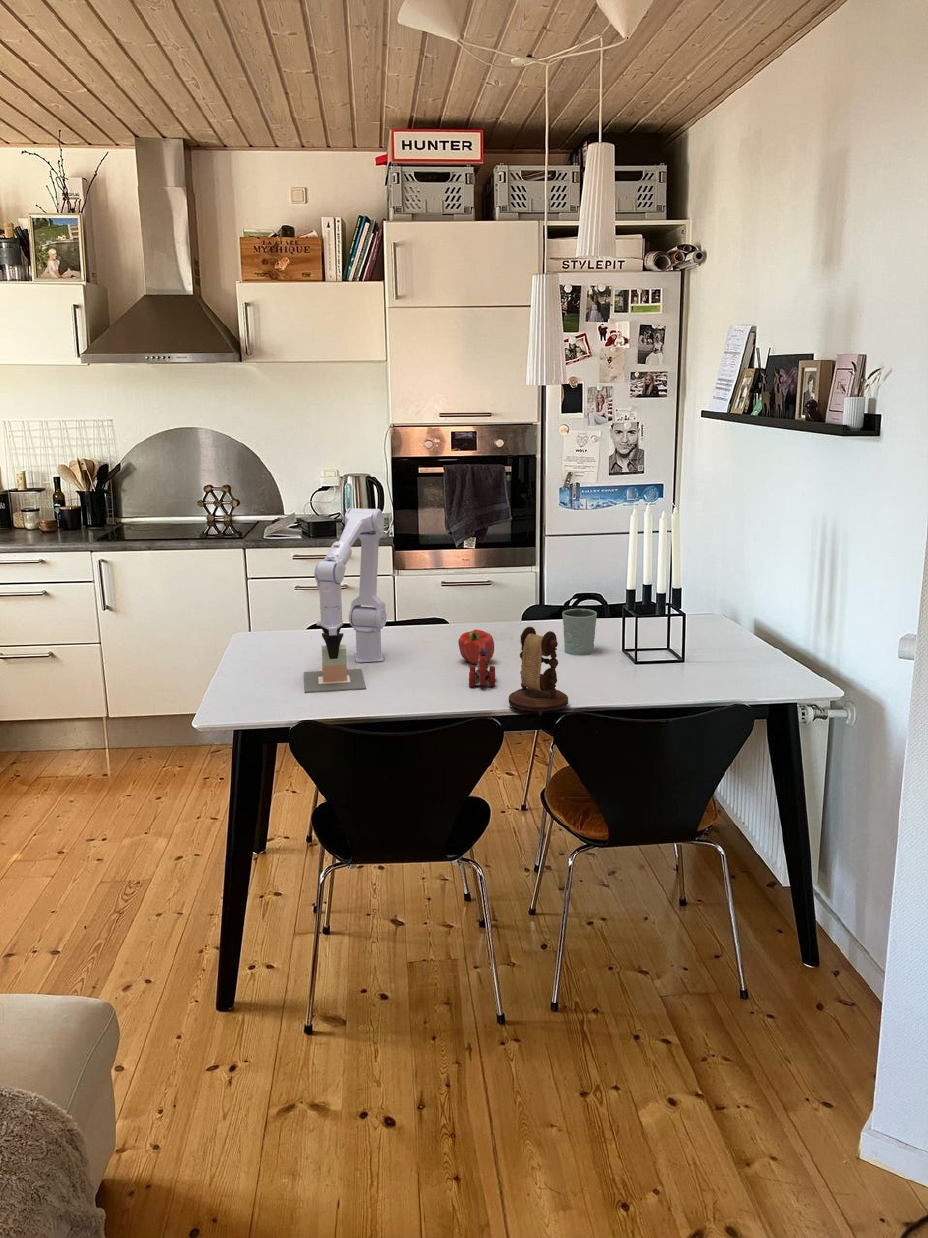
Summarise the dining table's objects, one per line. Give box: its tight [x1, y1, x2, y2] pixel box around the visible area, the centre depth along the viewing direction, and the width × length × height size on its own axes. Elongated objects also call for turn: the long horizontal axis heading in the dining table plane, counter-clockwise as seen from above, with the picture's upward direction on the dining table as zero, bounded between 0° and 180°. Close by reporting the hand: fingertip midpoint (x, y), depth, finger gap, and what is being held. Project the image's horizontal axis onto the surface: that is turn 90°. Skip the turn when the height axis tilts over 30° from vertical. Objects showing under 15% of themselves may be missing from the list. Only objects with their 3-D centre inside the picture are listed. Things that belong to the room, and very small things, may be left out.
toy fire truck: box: [468, 642, 496, 687], centre depth 265 cm, size 7×12×10 cm, turn 178°
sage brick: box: [321, 644, 348, 666], centre depth 268 cm, size 4×6×4 cm
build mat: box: [303, 668, 367, 694], centre depth 270 cm, size 18×16×1 cm
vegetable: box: [457, 629, 495, 665], centre depth 285 cm, size 11×10×10 cm
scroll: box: [508, 626, 569, 717], centre depth 245 cm, size 15×15×20 cm
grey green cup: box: [561, 608, 598, 656], centre depth 294 cm, size 10×10×12 cm
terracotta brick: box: [321, 663, 348, 682], centre depth 269 cm, size 4×6×4 cm
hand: (333, 654), depth 268 cm, fingers open, 7 cm apart
